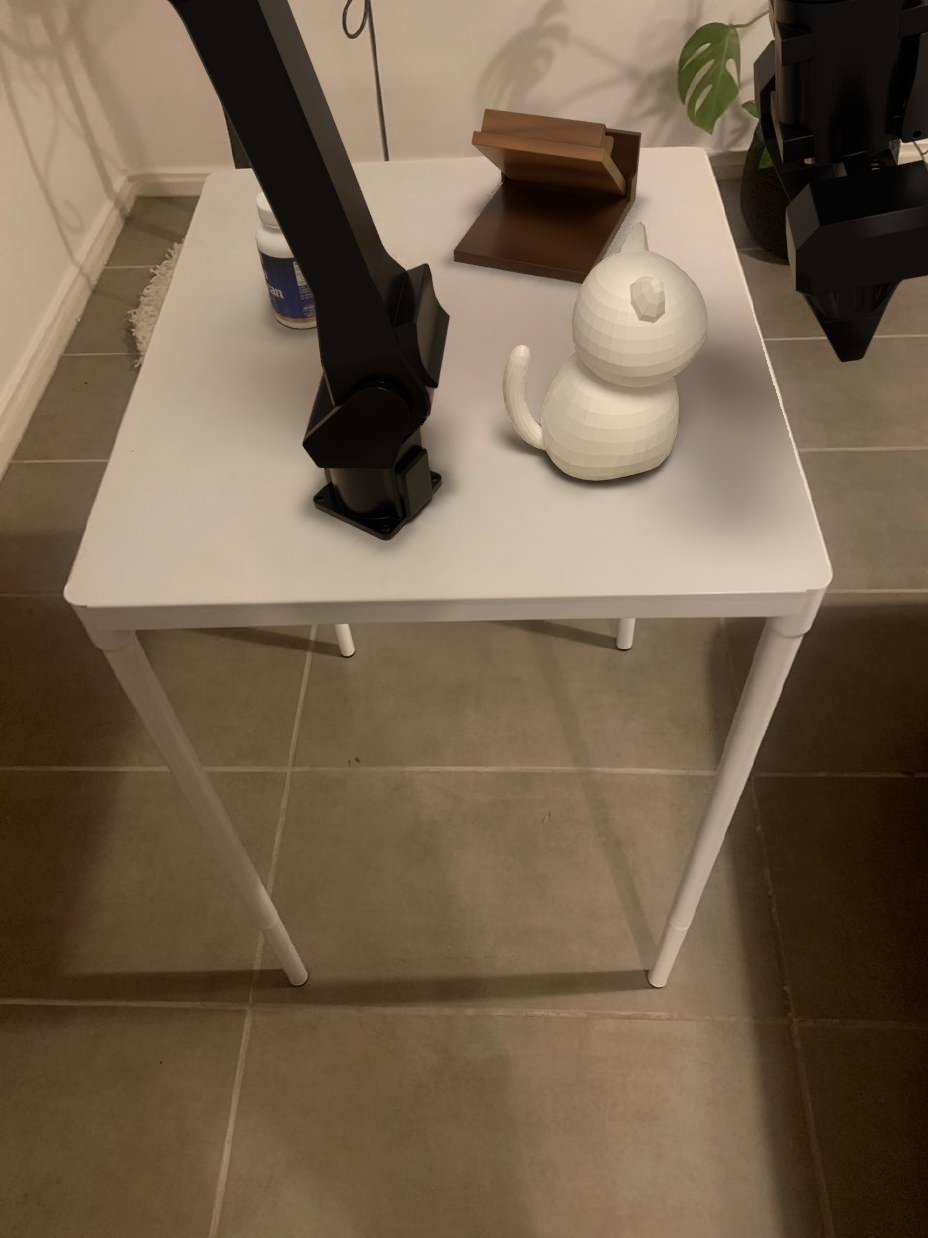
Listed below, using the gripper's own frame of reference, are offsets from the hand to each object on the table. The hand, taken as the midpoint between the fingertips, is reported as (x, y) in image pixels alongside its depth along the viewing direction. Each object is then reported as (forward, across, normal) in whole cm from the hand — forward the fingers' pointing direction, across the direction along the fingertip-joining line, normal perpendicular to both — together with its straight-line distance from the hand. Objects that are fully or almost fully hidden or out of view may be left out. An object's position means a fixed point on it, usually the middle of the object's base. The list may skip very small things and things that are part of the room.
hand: (837, 304), depth 49 cm
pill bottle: (+7, +21, +38) cm, 44 cm away
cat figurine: (+12, +4, +15) cm, 20 cm away
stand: (+11, +33, +19) cm, 40 cm away
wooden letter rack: (+6, +34, +18) cm, 39 cm away
